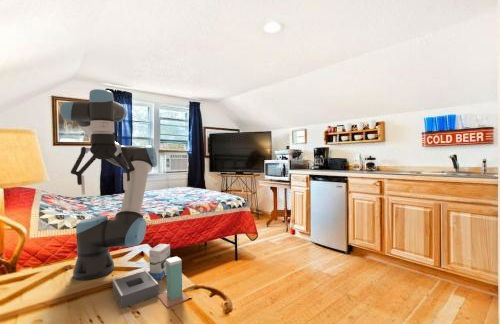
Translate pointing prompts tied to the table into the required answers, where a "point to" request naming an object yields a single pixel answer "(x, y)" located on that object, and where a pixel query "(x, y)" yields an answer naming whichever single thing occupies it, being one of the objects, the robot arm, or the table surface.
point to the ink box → (159, 260)
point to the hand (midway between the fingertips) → (105, 192)
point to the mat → (169, 303)
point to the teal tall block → (174, 277)
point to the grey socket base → (135, 288)
